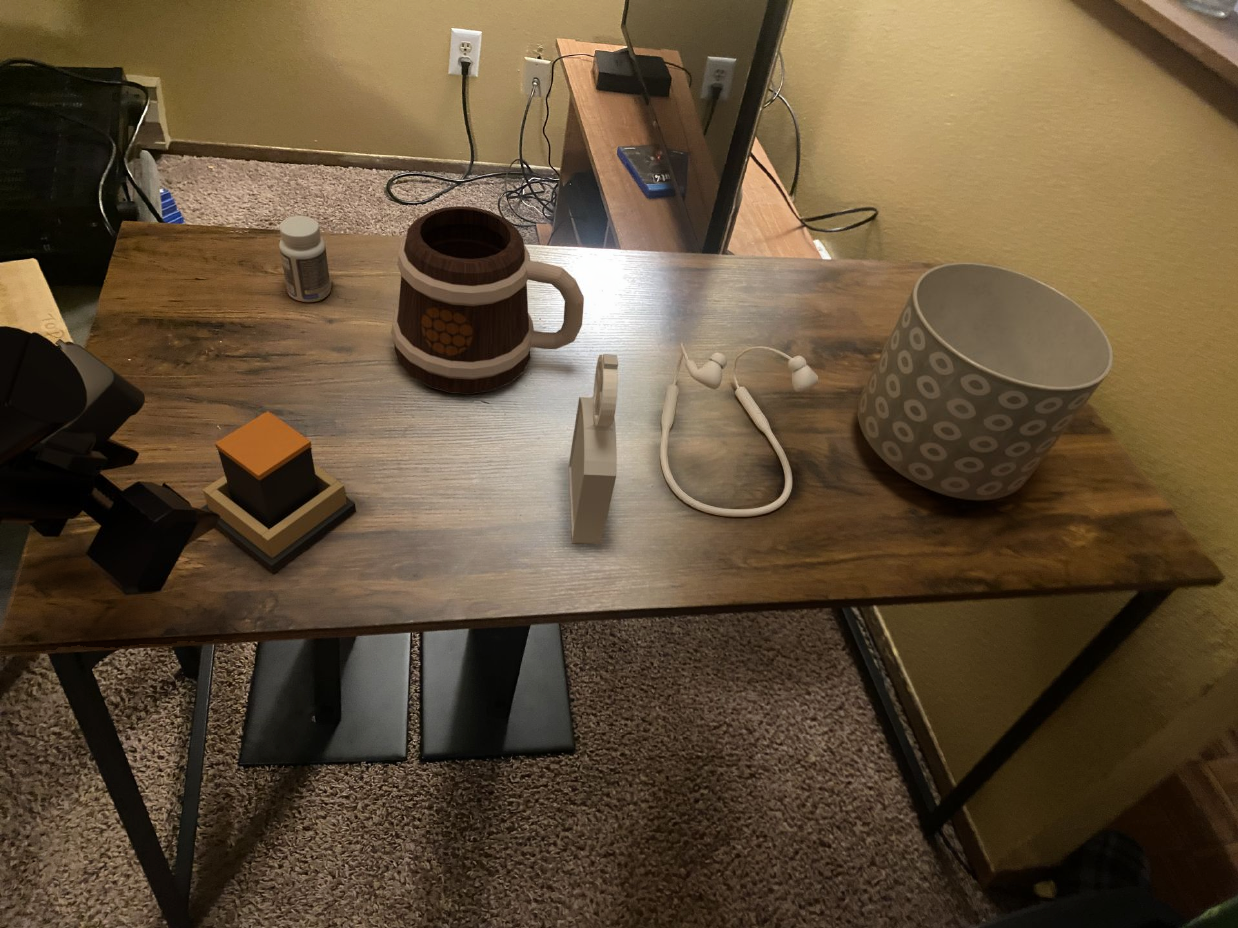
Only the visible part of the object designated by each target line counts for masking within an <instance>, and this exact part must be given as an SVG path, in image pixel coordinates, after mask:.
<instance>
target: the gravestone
mask: <svg viewBox="0 0 1238 928" xmlns="http://www.w3.org/2000/svg"><path fill="white" fill-rule="evenodd" d="M618 360H619V359H618V354H613V353H612V354H611V353H610V354H609V353H603V354H599V355H598V357H597V361H596V367H595V373H594V383H593V397H588V396H578V403H577V408H576V409H577V410H576V416H575V423H574V428H573V435H572V442H571V448H570V453H569V461H568V482H569V483H568V487H569V506H570V507H569V508H570V509H569V513H570V531H571V533H570V534H571V535H570V536H571V544H583V545H584V544H585V545H587V544H588V545H602V544H603V540H604V535H605V530H606V525H607V521H608V516H609V511H610V508H611V503H612V498H613V493H614V488H615V484H616V479H617V472H618V471H617V469H618V467H617V466H618V447H617V446H618V445H617V444H618V443H617V428H616V427H617V426H616V418H615V417H616V416H615V415H616V409H617V401H618V388H619V370H618V369H619V361H618Z"/></svg>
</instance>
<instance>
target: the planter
mask: <svg viewBox="0 0 1238 928" xmlns="http://www.w3.org/2000/svg"><path fill="white" fill-rule="evenodd" d="M1113 363H1114V350H1113V347H1112V344H1111V341H1110V339H1109V336H1108V335H1107V333H1106V331H1105V330H1104V328H1103V327H1102V326H1101V325H1100V324H1099V322H1098V321H1097V320H1096V318H1094V316H1092V315H1091V314H1090V313H1089V312H1088V311H1087V310H1086V309H1085V308H1084V307H1082V305H1080V304H1079V303H1077V302H1076V301H1075V300H1074V299H1073V298H1071V297H1069V296H1068V295H1066V294H1065V293H1063V292H1062V291H1060V290H1058V289H1057V288H1054V287H1053V286H1052V285H1049V284H1047V283H1046V282H1043V281H1041V280H1039V279H1037V278H1035V277H1032V276H1030V275H1027V274H1025V273H1022V272H1019V271H1016V270H1013V269H1010V268H1006V267H1003V266H997V265H993V264H989V263H981V262H970V261H969V262H968V261H967V262H966V261H965V262H964V261H963V262H961V261H960V262H949V263H945V264H940V265H938V266H935V267H932V268H930V269H928V270H926V271H924V273H923V274H921V275H920V277H918V278H917V280H916V282H915V284H914V285H913V288H912V290H911V292H910V293H909V296H908V298H907V300H906V302H905V304H904V306H903V308H902V310H901V313H900V314H899V317H898V319H897V321H896V323H895V325H894V327H893V329H892V330H891V333H890V334H889V337H888V338H887V341H886V343H885V345H884V347H883V349H882V351H881V353H880V355H879V358H878V360H877V362H876V364H875V366H874V368H873V370H872V371H871V374H870V376H869V378H868V380H867V382H866V383H865V385H864V388H863V390H862V391H861V394H860V396H859V399H858V402H857V409H856V410H857V411H856V412H857V420H858V421H857V422H858V423H859V427H860V430H861V432H862V434H863V436H864V438H865V440H866V441H867V443H868V444H869V446H870V447H871V448H872V450H873V451H874V452H875V453H876V454H877V456H879V457H880V458H881V460H882V461H884V463H886V464H887V465H888V466H889V467H890V468H892V469H893V470H894V471H895V472H896V473H898V474H900V475H901V476H903V477H904V478H906V479H907V480H909V481H911V482H912V483H914V484H916V485H918V486H920V487H923V488H924V489H927V490H929V491H932V492H935V493H937V494H941V495H944V496H947V497H949V498H950V497H951V498H954V499H960V500H967V501H968V500H969V501H990V500H991V501H992V500H997V499H1000V498H1001V499H1002V498H1004V497H1007V496H1009V495H1011V494H1014V493H1015V492H1017V491H1018V490H1020V488H1022V487H1023V486H1024V485H1025V484H1026V482H1027V481H1028V480H1029V479H1030V477H1031V476H1032V475H1033V473H1034V472H1035V471H1036V469H1037V468H1038V466H1039V465H1040V464H1041V462H1042V461H1043V460H1044V459H1045V457H1046V456H1047V455H1048V453H1049V452H1050V451H1051V450H1052V448H1053V447H1054V446H1055V444H1056V443H1057V442H1058V440H1059V439H1060V438H1061V436H1062V435H1064V433H1065V431H1066V430H1067V429H1068V427H1069V426H1070V425H1071V423H1072V422H1073V421H1074V419H1075V418H1076V417H1077V415H1078V414H1079V413H1080V412H1081V410H1082V409H1083V407H1084V406H1085V405H1086V404H1087V402H1088V401H1089V400H1090V398H1091V397H1092V396H1093V395H1094V393H1095V392H1096V391H1097V389H1098V388H1099V387H1100V385H1102V383H1103V381H1104V380H1105V379H1106V377H1107V376H1108V375H1109V373H1110V372H1111V370H1112V368H1113Z"/></svg>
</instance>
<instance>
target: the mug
mask: <svg viewBox="0 0 1238 928" xmlns="http://www.w3.org/2000/svg"><path fill="white" fill-rule="evenodd" d="M411 223H412V224H411V225H410V226H409V227H408V228H407V232H406V236H405V237H404V238H403V239H402V240H401V242H400V244H399V251H398V257H397V263H396V265H397V267H398V270H399V273H400V285H399V286H400V287H399V297H398V306H397V307H396V309H395V310H394V314H393V317H392V318H393V319H392V324H391V331H390V334H391V336H392V339H393V342H394V346H393V351H394V354H395V357H396V360H397V362H398V364H399V366H401V368H402V369H403V370H404V371H405V372H406V373H407V374H408V375H409V376H410V377H411V378H413V379H415V380H417V381H418V382H420V383H421V384H423V385H425V386H427V387H429V388H432V389H435V390H438V391H441V392H447V393H450V394H466V395H473V394H479V393H486V392H491V391H493V390H496V389H499V388H501V387H504V386H506V385H508V384H511V383H513V382H514V380H516V379H517V378H518V377H519V376H520V375H521V374H523V373H524V372H525V370H526V368H527V367H528V365H529V363H530V361H531V350H532V348H533V349H539V350H540V349H541V350H558V349H560V348H562V347H564V346H567V345H569V344H572V343H574V342H575V341H576V339H577V336H578V334H579V333H580V331H581V328H582V326H583V320H584V319H583V318H584V304H585V303H584V302H585V296H584V295H583V293H582V290H581V288H580V286H579V284H578V281H577V280H576V278H574V277H573V276H572V274H570V273H569V272H568V271H566V269H564V268H563V267H562V266H559V265H558V266H557V265H554V264H551V263H545V262H542V261H535V260H531V255H530V252H529V250H528V248H527V247H526V244H525V243H524V238H523V236H522V234H521V232H520V231H519V229H518V228H517V227H515V226H514V224H512V223H510V222H509V221H508V220H507V219H506V218H504V217H503V216H501V215H499V214H497V213H494V212H492V211H490V210H487V209H483V208H479V207H473V206H464V205H463V206H462V205H459V206H458V205H455V206H444V207H441V208H437V209H434V210H430V211H429V212H427V213H426V214H424V215H422V216H420V217H419V218H417V219H415V220H414V221H413V222H411ZM528 281H532V282H537V283H541V284H549V285H551V286H553V288H555V289H556V290H557V291H559V293H560V295H561V296H562V298H563V301H564V308H563V322H562V325H561V328H560V329H558V330H557V331H555V332H551V331H550V332H549V331H548V332H546V331H538V330H535V328H534V322H533V319H532V317H531V315H530V313H529V302H528V301H529V299H528Z"/></svg>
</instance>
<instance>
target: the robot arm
mask: <svg viewBox="0 0 1238 928" xmlns="http://www.w3.org/2000/svg"><path fill="white" fill-rule="evenodd" d="M145 402H146V395H145V393H144V392H143V391H142V390H141V389H140V388H138V387H137V386H136V385H134V384H133V383H132V382H130V381H129V380H128V379H126V378H125V377H123V376H122V375H121V374H119V373H118V372H117V371H115V370H114V369H113V368H112V367H110V366H109V365H107V364H106V363H105V362H103V361H102V360H101V359H100V358H98V357H97V356H95V355H94V354H92V353H91V352H90V351H88V350H87V349H86V348H85V347H83V346H81V345H80V344H78V343H77V344H76V343H75V342H72V341H64V340H62V339H61V338H59V339H58V340H56V341H55V343H54V342H53V341H51V340H50V339H48V338H47V337H45V336H44V335H42V334H40V333H39V332H35V331H33V332H29V331H27V330H24V329H21V328H18V327H14V326H7V325H0V524H1V523H13V524H15V523H17V524H18V523H19V524H28V525H29V526H31V527H32V528H33V529H34V530H35V531H36V532H38V533H39V534H40V535H41V536H42V537H44V538H60V536H61V534H62V532H63V530H64V528H65V527H66V525H67V523H68V521H69V520H74V519H76V518H77V517H78V516H79V515H81V513H82V512H84V513H85V514H86V515H87V516H89V517H90V518H91V519H92V520H93V521H94V522H96V523H97V524H98V525H99V526H100V527H99V528H98V530H97V532H96V534H95V535H94V538H93V539H92V541H91V543H90V545H89V546H88V549H87V551H86V552H85V556H86V557H87V559H88V561H89V563H90V565H91V567H92V568H93V569H94V570H96V571H97V572H98V573H99V574H100V575H102V576H103V577H104V578H105V579H106V580H107V581H108V582H110V583H111V584H112V585H113V586H114V587H115V588H116V589H118V590H119V591H120V592H122V593H123V594H124V595H125V596H135V595H136V596H138V595H139V596H140V595H152V594H155V593H159V592H161V591H162V589H163V587H164V585H165V584H166V582H167V581H168V579H169V576H170V575H171V573H172V571H173V570H174V567H175V566H176V564H177V562H178V560H179V558H180V557H181V555H182V553H183V552H184V549H185V547H186V546H188V545H189V544H191V543H193V542H195V541H196V540H198V539H199V538H201V537H203V536H204V535H206V534H207V533H209V532H211V531H212V530H214V529H216V528H215V527H216V525H217V523H218V521H219V519H220V515H219V514H217V513H214V512H211V511H208V510H204V509H200V508H201V507H194V506H192V504H191V503H190V501H189V500H187V499H186V498H185V497H184V496H183V495H181V494H180V493H178V492H177V491H176V490H175V489H174V488H172V487H170V486H169V485H168V484H167V483H165V482H163V483H162V485H160V484H157V483H155V482H152V481H151V482H150V481H141V480H138V481H135V482H134V483H133V484H131V485H130V486H127V487H126V488H123V487H122V486H121V485H119V484H118V483H117V482H115V480H113V479H112V478H110V477H109V476H108V474H106V473H104V472H103V471H108V470H115V469H119V468H124V467H129V466H133V465H134V464H135V463H136V461H137V460H138V458H139V456H140V453H139V451H138V450H136V449H134V448H132V447H130V446H128V445H125V444H123V443H121V442H118V441H116V440H115V439H112V437H113V435H114V434H115V433H116V432H117V431H118V430H119V429H120V428H121V427H122V426H123V425H124V424H125V423H126V422H127V421H128V420H129V419H130V417H132V416H135V415H137V414H138V413H139V412H140V411H141V409H142V408H143V407H144V404H145Z"/></svg>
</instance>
